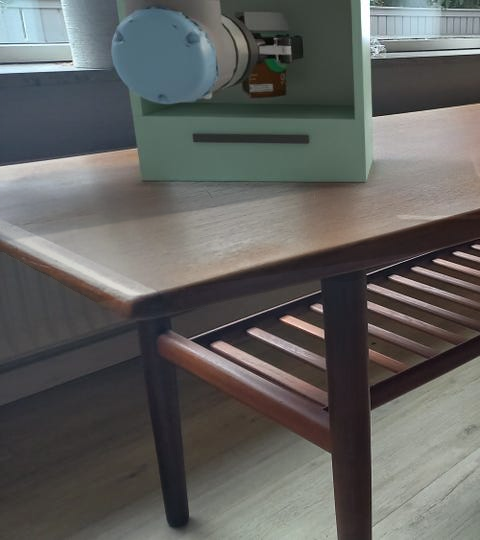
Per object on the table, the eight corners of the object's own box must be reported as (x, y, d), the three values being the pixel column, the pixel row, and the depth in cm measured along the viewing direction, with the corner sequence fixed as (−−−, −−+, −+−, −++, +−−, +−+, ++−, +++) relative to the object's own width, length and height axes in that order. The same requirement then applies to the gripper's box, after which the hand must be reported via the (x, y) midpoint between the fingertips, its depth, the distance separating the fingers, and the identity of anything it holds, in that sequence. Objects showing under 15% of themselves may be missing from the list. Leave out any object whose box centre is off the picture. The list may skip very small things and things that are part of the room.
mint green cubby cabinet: (366, 183, 89) (359, -28, 80) (139, 181, 86) (108, -37, 78) (373, 159, 104) (368, -20, 96) (181, 157, 102) (159, -27, 93)
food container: (303, 98, 86) (298, 13, 82) (252, 99, 83) (244, 11, 80) (287, 89, 96) (282, 12, 93) (241, 89, 94) (234, 11, 90)
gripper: (118, 88, 69) (189, 72, 91) (309, 91, 71) (335, 75, 92) (106, 8, 67) (183, 11, 88) (305, 14, 68) (332, 15, 90)
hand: (260, 44), depth 90 cm, fingers closed on food container, 6 cm apart
